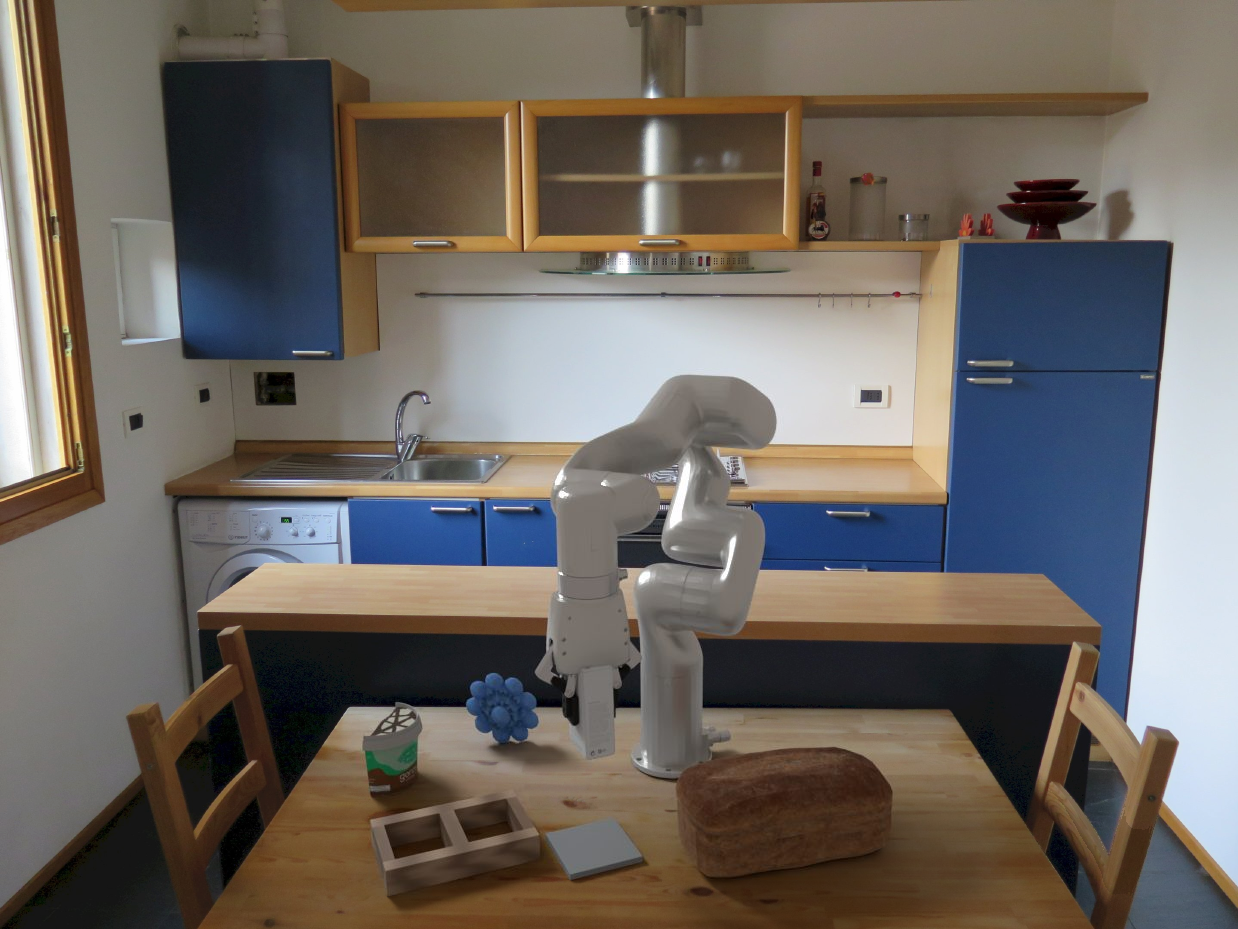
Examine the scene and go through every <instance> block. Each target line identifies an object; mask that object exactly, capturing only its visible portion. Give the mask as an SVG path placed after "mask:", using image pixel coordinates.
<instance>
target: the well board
mask: <svg viewBox="0 0 1238 929" xmlns="http://www.w3.org/2000/svg"><path fill="white" fill-rule="evenodd" d="M506 822H507V824H508V826H509V828H510V830H511V831H512V832H508V833H505V834H504V833H503V834H499V835H494V836H490V837H485V838H482V839H478V840H473V841H469V840H468V838H467V836H466V834H465V832H466V831H471V830H474V829H478V828H485V827H488V826H493V825H497V824H502V823H506ZM369 824H370V825H369V826H370V839H371V846H372V849H373V853H374V856H375V861H376V864H377V867H378V870H379V874H380V877H381V880H382V884H383V887H384V890H385V894H386V897H391V896H395V895H398V894H404V893H407V892H410V891H416V890H419V889H423V888H428V887H431V886H435V885H436V886H437V885H440V884H443V883H448V882H452V881H456V880H459V879H465V878H469V877H472V876H477V875H481V874H485V873H488V872H489V873H490V872H494V871H497V870H501V869H505V868H509V867H510V868H511V867H513V866H517V865H522V864H526V863H531V862H535V861H538V860H539V861H540V860H541V842H540V841H541V840H540V839H541V837H540V833H539V832H538V830H537V828H536V826H535V825H534V823H533V821H532V820H531V818H530V816H529V814H528V812H527V811H526V810H525V808H524V807H523V805H522V803H521V801H520V799H519V798H518V796H517V795H516V793H515V791H514V790H513V789H508V790H504V791H499V792H498V791H497V792H494V793H489V794H484V795H480V796H475V797H470V798H466V799H462V800H461V799H460V800H457V801H452V802H448V803H443V804H438V805H433V806H428V807H423V808H419V809H415V810H410V811H406V812H401V813H400V812H399V813H395V814H391V815H387V816H386V815H385V816H383V817H382V816H381V817H377V818H372V819H370V820H369ZM439 837H440V839H441V842H442V844H443V846H444V847H442V848H439V849H434V850H430V851H425V852H422V853H416V854H413V855H409V856H404V857H400V858H395V856H394V852H393V849H392V848H394V847H396V848H397V847H398V846H399V847H400V846H405V845H407V844H409V845H410V844H412V843H417V842H421V841H426V840H431V839H434V838H435V839H436V838H439Z"/></svg>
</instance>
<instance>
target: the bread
mask: <svg viewBox="0 0 1238 929" xmlns="http://www.w3.org/2000/svg"><path fill="white" fill-rule="evenodd" d="M675 794H676V796H675V797H676V803H677V806H676V808H677V821H678V822H677V824H678V836H679V839H680V842H681V844H682V846H683V849H684V852H685V853H686V854H687V856H688V858H690V860H691V861H692V863H693V864H694V866H695V867H696V868H697V870H698V871H700V872H701V873H702V874H704V875H705V876H707V877H709V878H735V877H741V876H746V875H751V874H756V873H762V872H763V873H764V872H769V871H776V870H783V869H784V870H785V869H796V868H801V867H807V866H810V865H814V864H819V863H822V862H823V863H824V862H828V861H832V860H840V859H846V858H847V859H848V858H856V857H862V856H865V855H868V854H869V855H870V854H871V853H873V852H876V851H878V850H881V849H882V848H884V847H885V846H887V845H888V843H889V842H888V841H889V838H890V834H891V828H892V809H893V808H892V806H893V795H894V794H893V789H892V787H891V784H890V783H889V782H888V780H887V779H886V778H885V776H884V775H883V773H882V772H881V770H880V769H879V768H878V767H877V766H876V764H875V763H874V762H873V761H872V760H871V759H869V758H867V757H865V756H864V755H862V754H861V753H858V752H853V751H851V750H848V749H846V748H843V747H842V748H841V747H836V746H825V747H823V746H822V747H789V748H777V749H770V750H764V751H756V752H749V753H743V754H738V755H733V756H732V755H731V756H726V757H719V758H715V759H712V760H710V761H706V762H703V763H700V764H697V765H694V766H691V767H689V768H687V769H686V770H684V771H683V772H682V773H681V774H680V776H679V778H677V781H676V786H675Z"/></svg>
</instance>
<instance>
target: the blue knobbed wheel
mask: <svg viewBox="0 0 1238 929" xmlns="http://www.w3.org/2000/svg"><path fill="white" fill-rule="evenodd" d="M469 688H470V694H471V695H472V697H471V698H469V699H467V700H466V703H465V705H466V710H467V712H468V714H471V715H472V716H474V717H475V719H474V726H475V728H476V729H477V730H478V731H479V732H480V733H483V734H489V733H490V732H491V733H492V734H491V735H492V738H493V740H495V741H496V742H498V743H501V744H506V743H508V742H509V741H510V739H511V738H512V739H513V740H514V741H517V742H524V741H526V740H527V739H528V737H529V729H530V730H533V729H535V728H536V727H538V726H539V722H540V720H539V716H538V714H537V713H536V712H534V711H533V710H535V709H536V707H537V699H536V698H537V697H535V695H533V694H532V693H530V692H525V691H524V687H523V683H522V682H521V681H520V680H519V679H518V678H516V677H508V678H507V679H505V681H504V678H503V677H502V676H501V675H500V674H499V673H495V672H491V673H489V674H487V675H486V676H485V682H484V681H481V680H475V681H473V682H472V683H471V685H470V687H469ZM523 691H524V692H523Z"/></svg>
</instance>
